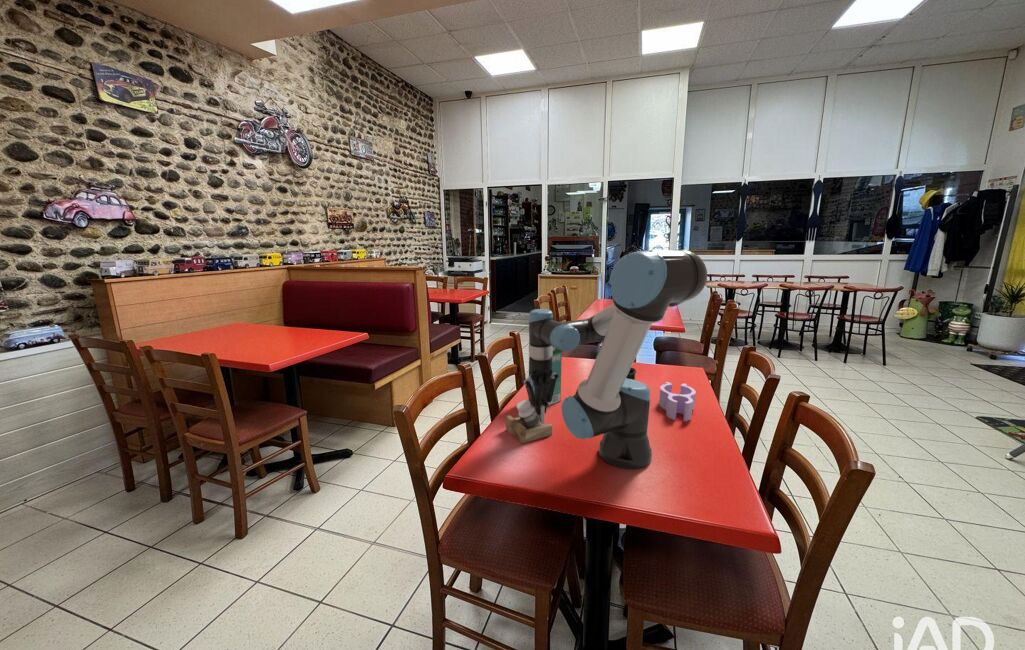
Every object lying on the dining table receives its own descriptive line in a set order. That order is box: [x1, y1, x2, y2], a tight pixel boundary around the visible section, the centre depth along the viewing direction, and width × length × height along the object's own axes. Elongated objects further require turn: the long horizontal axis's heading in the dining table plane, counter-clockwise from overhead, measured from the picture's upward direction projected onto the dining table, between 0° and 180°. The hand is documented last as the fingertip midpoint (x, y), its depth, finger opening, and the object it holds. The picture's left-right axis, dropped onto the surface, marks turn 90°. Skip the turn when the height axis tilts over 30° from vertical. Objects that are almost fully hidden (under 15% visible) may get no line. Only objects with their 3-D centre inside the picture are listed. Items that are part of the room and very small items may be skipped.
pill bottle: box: [516, 399, 541, 430], centre depth 133 cm, size 6×6×10 cm
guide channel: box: [505, 414, 553, 444], centre depth 134 cm, size 10×12×5 cm
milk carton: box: [528, 347, 563, 408], centre depth 156 cm, size 9×9×25 cm
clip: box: [658, 381, 697, 422], centre depth 151 cm, size 20×12×7 cm, turn 164°
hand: (540, 422), depth 137 cm, fingers closed
